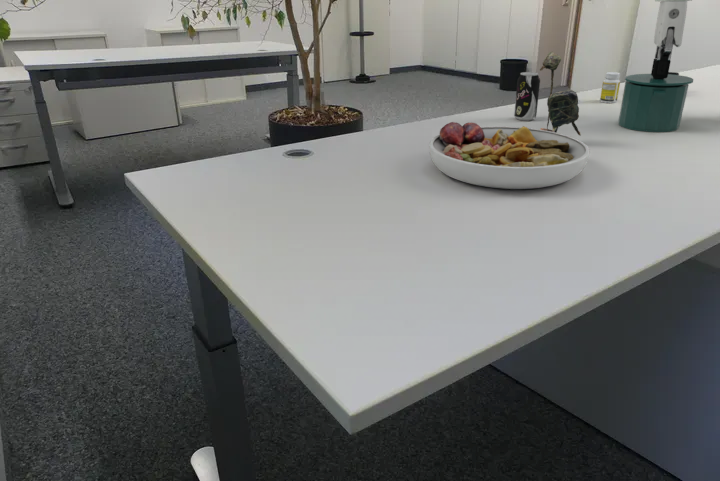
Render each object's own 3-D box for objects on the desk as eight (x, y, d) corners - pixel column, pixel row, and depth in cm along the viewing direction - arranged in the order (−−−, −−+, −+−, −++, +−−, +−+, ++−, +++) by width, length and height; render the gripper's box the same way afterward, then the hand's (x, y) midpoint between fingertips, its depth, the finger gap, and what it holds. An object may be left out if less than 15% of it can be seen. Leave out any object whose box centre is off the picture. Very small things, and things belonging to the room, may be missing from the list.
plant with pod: (572, 150, 120) (586, 54, 111) (522, 143, 126) (531, 51, 117) (582, 141, 126) (596, 50, 118) (533, 135, 132) (543, 48, 123)
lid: (687, 78, 138) (692, 51, 135) (697, 89, 125) (704, 58, 123) (622, 77, 143) (627, 50, 140) (626, 87, 130) (631, 58, 127)
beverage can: (509, 119, 148) (513, 73, 143) (521, 115, 152) (526, 70, 146) (527, 122, 144) (533, 75, 139) (540, 118, 148) (545, 72, 143)
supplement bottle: (608, 99, 169) (613, 71, 166) (620, 102, 165) (625, 73, 162) (596, 101, 168) (600, 72, 164) (607, 103, 164) (612, 74, 160)
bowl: (602, 160, 112) (608, 122, 109) (559, 207, 90) (566, 161, 87) (466, 142, 128) (468, 108, 124) (401, 177, 105) (401, 137, 102)
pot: (672, 118, 144) (681, 77, 140) (684, 136, 128) (694, 90, 124) (616, 116, 149) (623, 76, 144) (620, 132, 132) (628, 88, 128)
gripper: (699, -6, 118) (681, 82, 125) (687, -8, 131) (671, 72, 139) (660, -5, 120) (645, 82, 128) (652, -7, 134) (638, 71, 141)
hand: (659, 76), depth 133 cm, fingers closed on lid, 2 cm apart
